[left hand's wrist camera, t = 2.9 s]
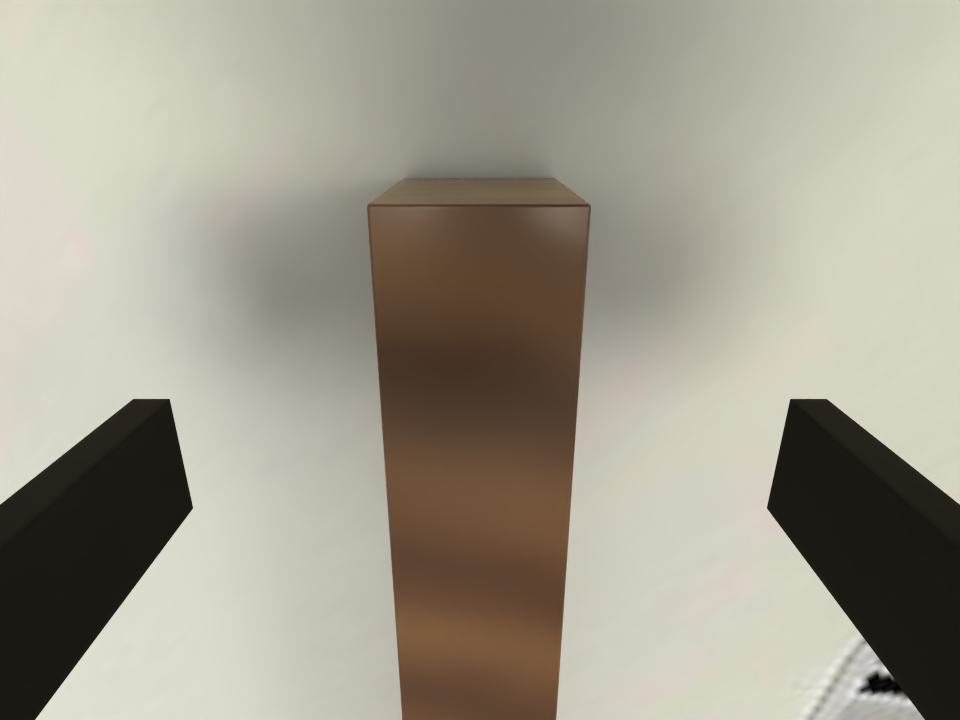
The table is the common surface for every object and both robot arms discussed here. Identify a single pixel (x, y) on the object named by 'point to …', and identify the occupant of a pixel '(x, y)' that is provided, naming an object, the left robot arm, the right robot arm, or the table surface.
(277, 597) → the table surface
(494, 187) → the post
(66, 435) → the table surface
